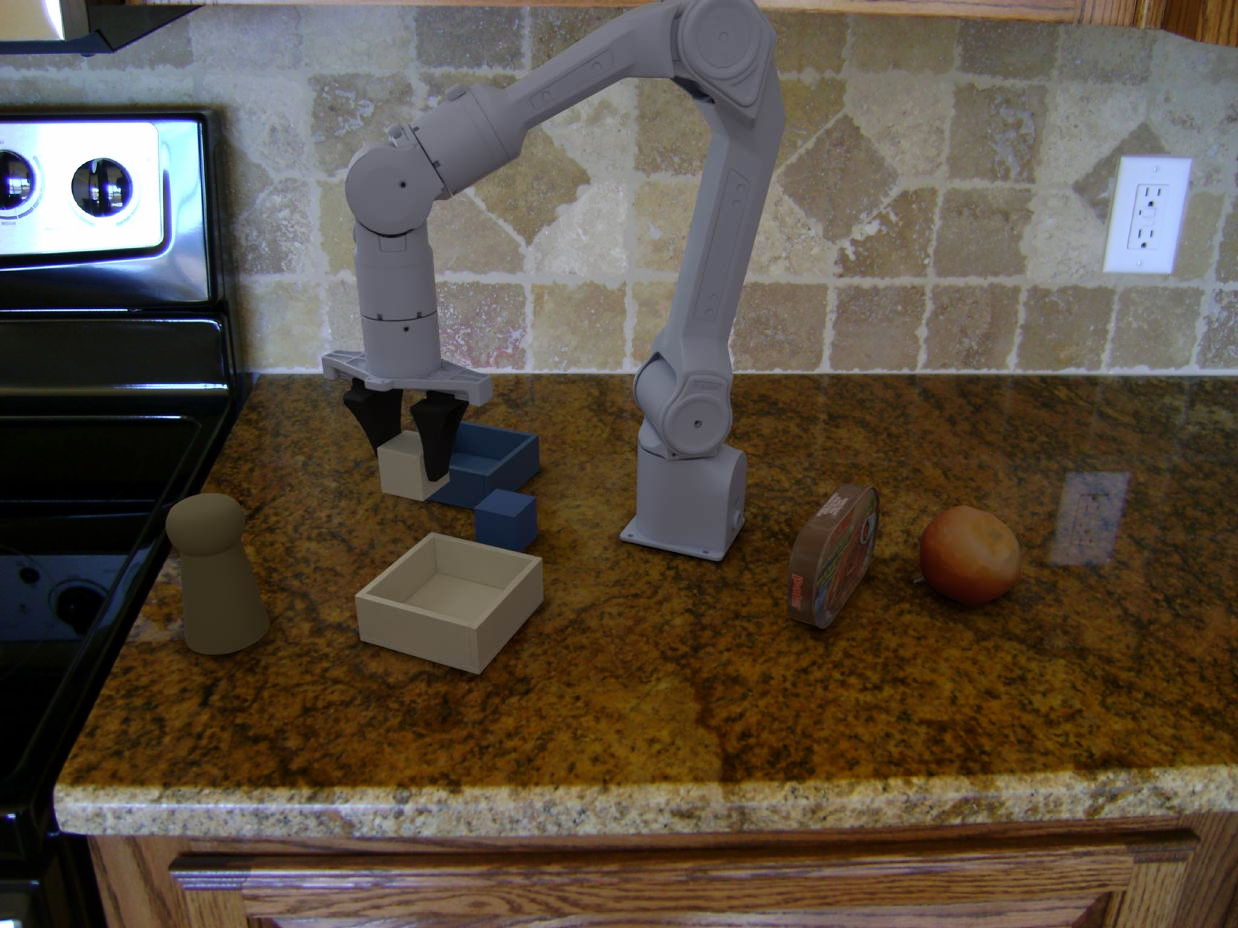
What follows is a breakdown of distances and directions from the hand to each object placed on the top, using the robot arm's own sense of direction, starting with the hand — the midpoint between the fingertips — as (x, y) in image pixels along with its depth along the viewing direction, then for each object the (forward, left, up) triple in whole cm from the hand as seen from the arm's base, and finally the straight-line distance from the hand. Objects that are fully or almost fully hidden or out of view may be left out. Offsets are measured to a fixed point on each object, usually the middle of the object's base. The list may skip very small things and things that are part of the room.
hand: (414, 471), depth 76 cm
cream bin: (-7, +7, -8) cm, 13 cm away
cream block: (0, 0, -1) cm, 1 cm away
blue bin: (+4, -14, -8) cm, 17 cm away
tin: (-33, -8, -9) cm, 35 cm away
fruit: (-43, -13, -9) cm, 46 cm away
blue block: (-5, -5, -8) cm, 11 cm away
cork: (+8, +15, -9) cm, 19 cm away
